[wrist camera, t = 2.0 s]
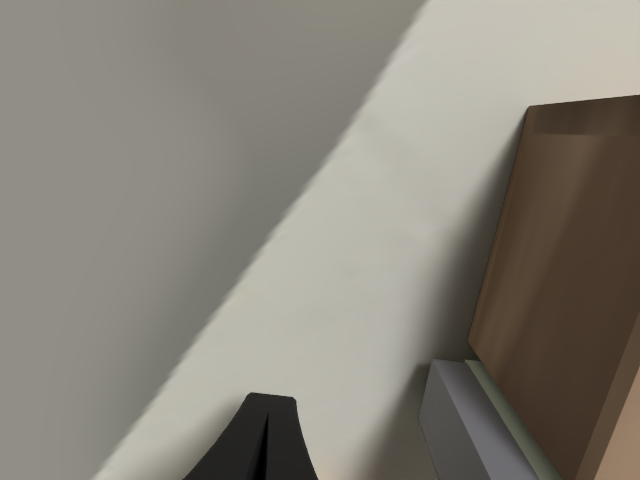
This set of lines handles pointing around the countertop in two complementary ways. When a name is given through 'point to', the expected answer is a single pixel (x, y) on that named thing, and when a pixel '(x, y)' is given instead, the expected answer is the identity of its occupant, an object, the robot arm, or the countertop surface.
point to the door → (477, 428)
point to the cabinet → (570, 287)
